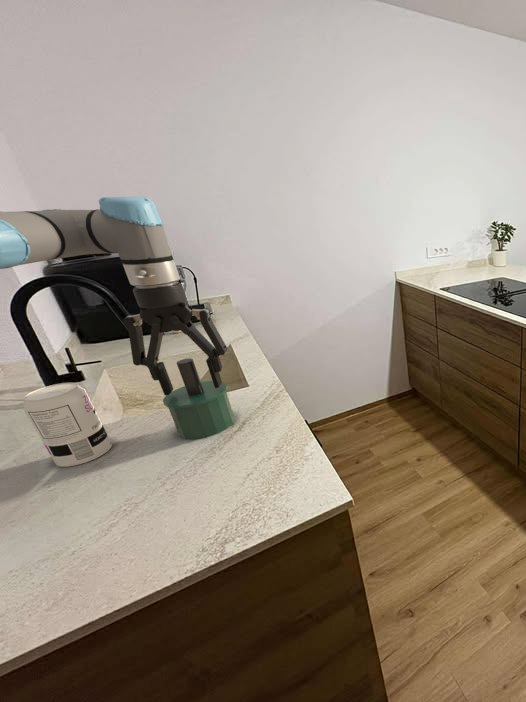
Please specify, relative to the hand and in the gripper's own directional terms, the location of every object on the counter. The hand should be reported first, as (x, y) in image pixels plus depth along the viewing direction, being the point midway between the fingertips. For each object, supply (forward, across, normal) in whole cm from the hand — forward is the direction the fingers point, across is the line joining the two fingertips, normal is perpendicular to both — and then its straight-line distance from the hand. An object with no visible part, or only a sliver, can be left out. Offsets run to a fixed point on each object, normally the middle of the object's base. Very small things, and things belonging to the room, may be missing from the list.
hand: (194, 388), depth 81 cm
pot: (+10, 0, 0) cm, 10 cm away
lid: (+2, 0, 0) cm, 2 cm away
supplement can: (+10, -20, -3) cm, 23 cm away
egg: (+10, -30, +82) cm, 88 cm away
